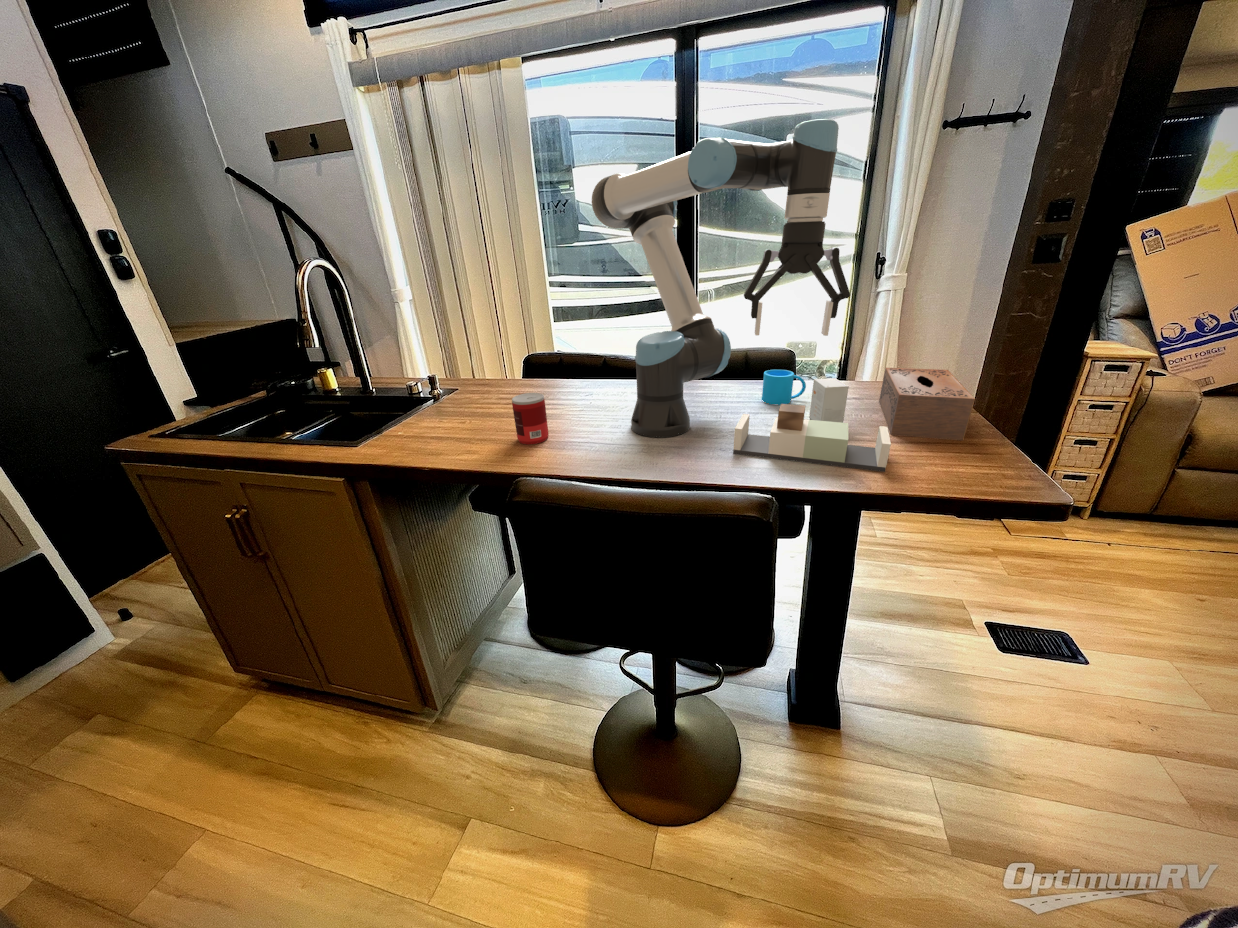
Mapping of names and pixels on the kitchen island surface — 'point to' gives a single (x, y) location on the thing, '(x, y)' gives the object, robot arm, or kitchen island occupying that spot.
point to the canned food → (530, 418)
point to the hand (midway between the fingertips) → (790, 334)
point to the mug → (779, 386)
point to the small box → (828, 400)
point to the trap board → (850, 459)
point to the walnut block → (791, 417)
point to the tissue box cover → (925, 403)
